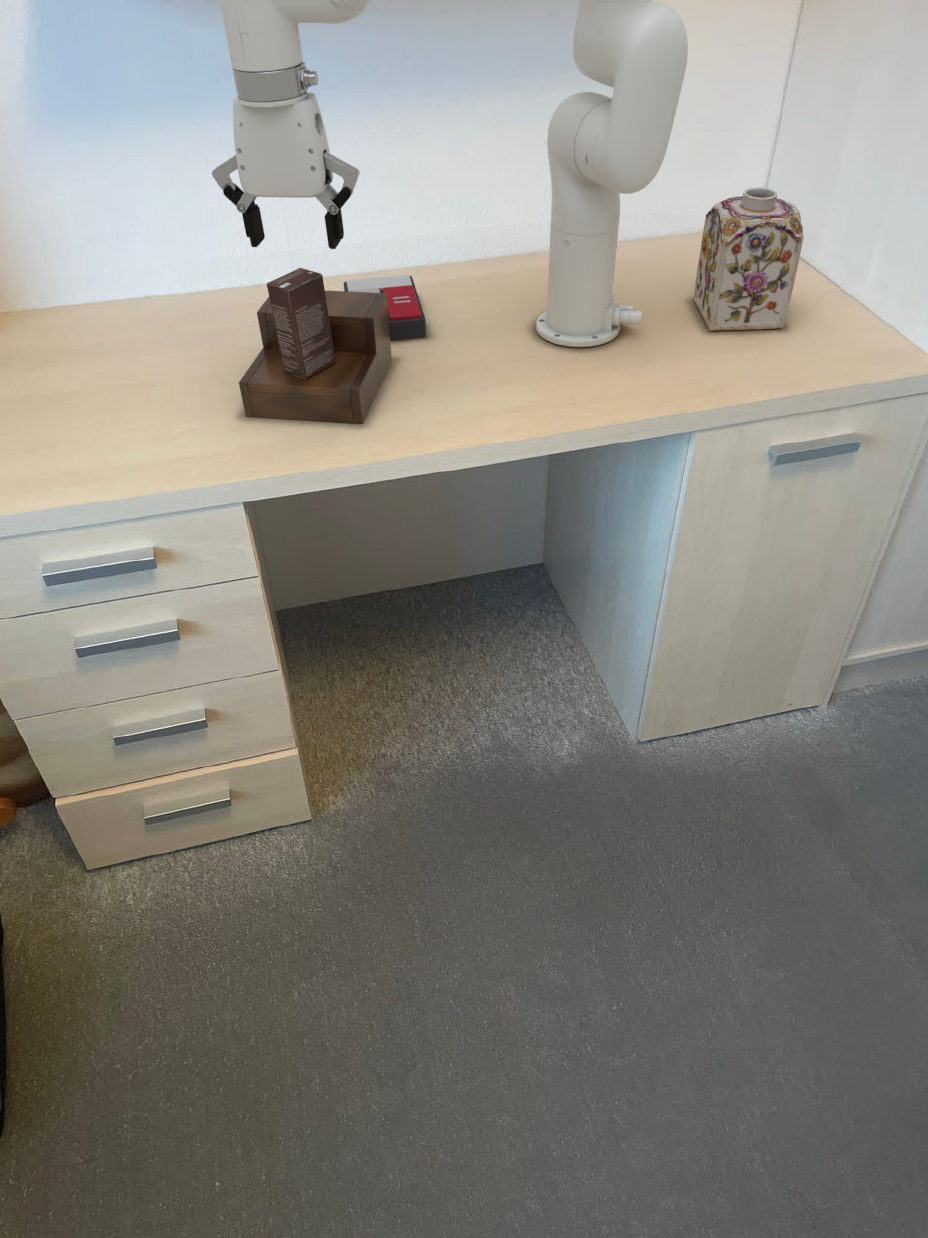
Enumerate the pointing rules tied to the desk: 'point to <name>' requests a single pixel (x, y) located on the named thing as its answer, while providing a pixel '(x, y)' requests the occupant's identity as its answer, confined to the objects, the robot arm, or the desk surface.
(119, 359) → the desk surface
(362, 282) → the calculator
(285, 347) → the box
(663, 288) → the desk surface
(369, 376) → the step shelf
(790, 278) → the decorative jar
